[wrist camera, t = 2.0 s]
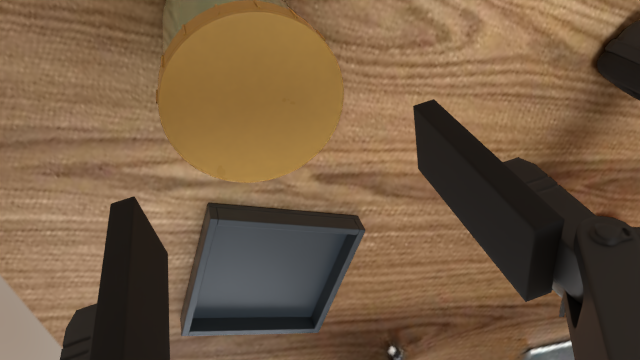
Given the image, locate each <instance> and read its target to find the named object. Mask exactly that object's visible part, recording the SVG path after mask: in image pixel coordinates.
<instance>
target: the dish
mask: <svg viewBox="0 0 640 360" xmlns="http://www.w3.org/2000/svg"><path fill="white" fill-rule="evenodd" d="M364 233H365V228H364V227H363V225H362V223H361V221H360V220H359V217H358V216H352V215H340V214H329V213H317V212H306V211H294V210H283V209H271V208H260V207H248V206H237V205H225V204H214V203H208V205H207V210H206V214H205V218H204V222H203V226H202V230H201V235H200V239H199V243H198V247H197V251H196V255H195V260H194V264H193V268H192V272H191V276H190V280H189V285H188V289H187V293H186V297H185V301H184V305H183V310H182V314H181V318H180V321H181V336H206V335H245V334H284V333H318V332H319V330H320V328H321V326H322V324H323V321H324V319H325V317H326V315H327V313H328V311H329V308H330V306H331V304H332V302H333V300H334V298H335V295H336V293H337V291H338V289H339V287H340V285H341V282H342V280H343V278H344V276H345V274H346V272H347V269H348V267H349V265H350V263H351V261H352V259H353V256H354V254H355V252H356V250H357V248H358V246H359V243H360V241H361V239H362V237H363V235H364Z"/></svg>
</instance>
